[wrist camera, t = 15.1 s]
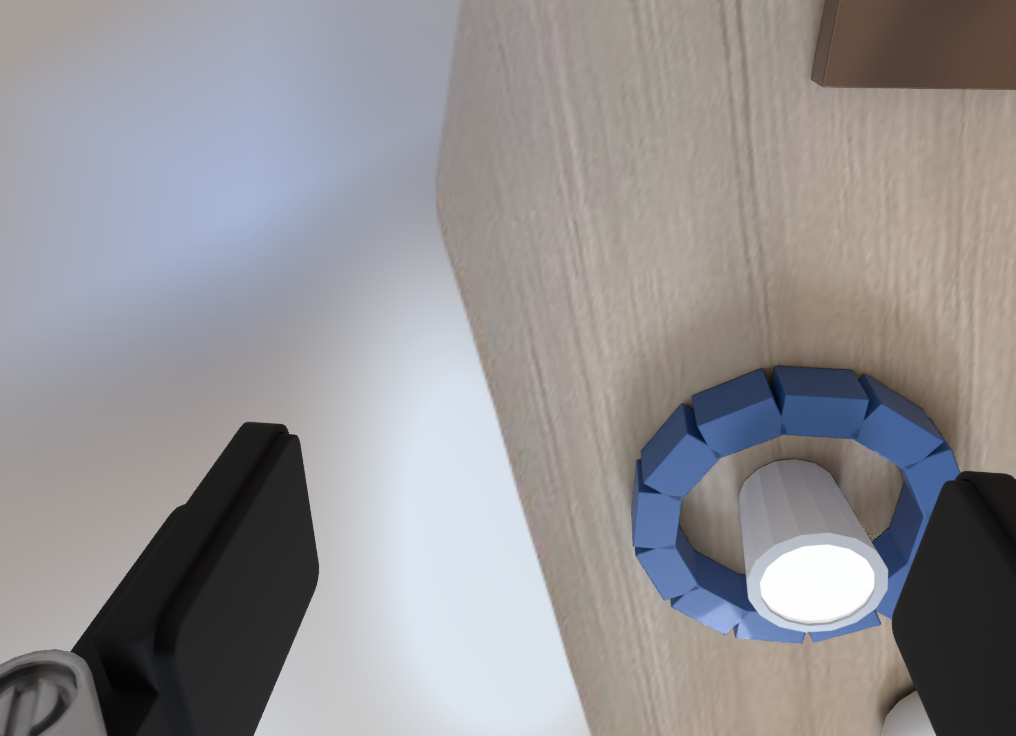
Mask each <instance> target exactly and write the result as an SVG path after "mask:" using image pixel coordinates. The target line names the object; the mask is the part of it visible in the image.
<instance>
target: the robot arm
mask: <svg viewBox="0 0 1016 736" xmlns="http://www.w3.org/2000/svg"><path fill="white" fill-rule="evenodd" d="M318 575H319V562H318V556H317V550H316V543H315V536H314V530H313V523H312V517H311V510H310V504H309V498H308V491H307V484H306V479H305V471H304V465H303V458H302V452H301V445H300V441H299V438H298V436H297V435H292V434H289V432H288V430H287V428H286V426H285V425H283V424H273V423H272V424H271V423H257V422H246V423H244V424H243V425H242V426H241V427H240V428H239V430H238V431H237V433H236V434H235V435H234V437H233V438H232V440H231V441H230V442H229V444H228V445H227V447H226V448H225V449H224V451H223V452H222V454H221V455H220V456H219V458H218V459H217V461H216V462H215V463H214V465H213V466H212V468H211V469H210V470H209V472H208V473H207V475H206V476H205V478H204V479H203V480H202V482H201V483H200V484H199V486H198V487H197V489H196V490H195V491H194V493H193V494H192V496H191V497H190V499H189V500H188V501H187V503H186V504H184V505H182V506H179V507H177V508H176V509H175V510H174V511H173V512H172V513H171V514H170V515H169V517H168V518H167V519H166V521H165V522H164V523H163V525H162V526H161V528H160V529H159V530H158V532H157V533H156V534H155V536H154V537H153V539H152V540H151V541H150V543H149V544H148V545H147V547H146V548H145V550H144V551H143V553H142V554H141V555H140V556H139V558H138V559H137V561H136V562H135V563H134V565H133V566H132V567H131V569H130V570H129V572H128V573H127V574H126V576H125V577H124V579H123V580H122V581H121V583H120V584H119V585H118V587H117V588H116V589H115V591H114V592H113V594H112V595H111V596H110V598H109V599H108V600H107V602H106V603H105V605H104V606H103V607H102V609H101V610H100V611H99V613H98V614H97V616H96V617H95V618H94V620H93V621H92V622H91V624H90V625H89V627H88V628H87V629H86V631H85V632H84V634H83V635H82V636H81V638H80V639H79V640H78V642H77V643H76V644H75V646H74V647H73V649H72V650H71V651H70V652H68V651H62V650H57V649H55V650H44V651H35V652H32V653H28V654H25V655H21V656H18V657H15V658H12V659H11V660H9V661H7V662H5V663H3V664H1V665H0V736H254V733H255V731H256V728H257V726H258V724H259V721H260V719H261V717H262V714H263V712H264V710H265V707H266V705H267V702H268V700H269V698H270V695H271V693H272V691H273V688H274V686H275V684H276V681H277V679H278V677H279V674H280V672H281V669H282V667H283V665H284V662H285V660H286V657H287V655H288V653H289V651H290V648H291V646H292V643H293V641H294V639H295V636H296V634H297V631H298V629H299V627H300V624H301V622H302V619H303V617H304V615H305V612H306V610H307V608H308V606H309V603H310V601H311V598H312V596H313V594H314V591H315V588H316V586H317V581H318ZM892 630H893V635H894V638H895V641H896V643H897V646H898V648H899V650H900V653H901V655H902V657H903V660H904V662H905V664H906V667H907V669H908V671H909V674H910V676H911V678H912V681H913V683H914V685H915V688H916V690H917V692H918V695H919V697H920V699H921V702H922V704H923V706H924V709H925V711H926V713H927V716H928V718H929V720H930V723H931V725H932V727H933V730H934V732H935V734H936V736H1016V479H1015V478H1013V477H1012V476H1011V475H1008V474H1003V473H988V472H973V471H964V472H961V473H960V474H959V475H958V476H957V477H956V479H955V480H949V481H946V482H945V483H944V484H943V486H942V488H941V490H940V493H939V496H938V498H937V501H936V503H935V506H934V508H933V511H932V514H931V516H930V519H929V521H928V524H927V526H926V529H925V532H924V534H923V537H922V539H921V542H920V544H919V547H918V550H917V552H916V555H915V557H914V560H913V562H912V565H911V568H910V570H909V573H908V575H907V578H906V580H905V583H904V586H903V588H902V591H901V593H900V596H899V598H898V601H897V604H896V606H895V609H894V612H893V615H892Z"/></svg>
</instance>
